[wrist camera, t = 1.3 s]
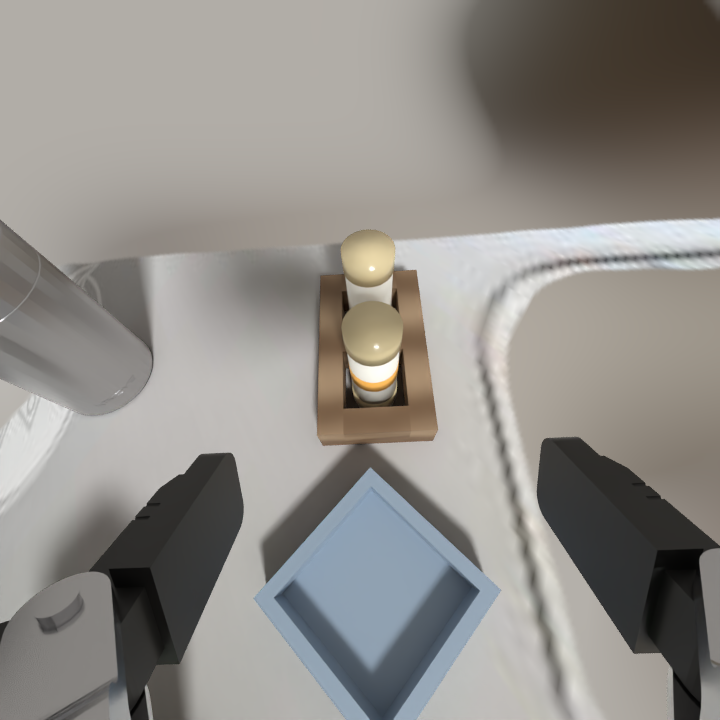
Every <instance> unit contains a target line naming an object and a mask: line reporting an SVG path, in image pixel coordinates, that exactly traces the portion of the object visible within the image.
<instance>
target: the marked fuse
mask: <svg viewBox="0 0 720 720" xmlns="http://www.w3.org/2000/svg"><path fill="white" fill-rule="evenodd" d="M341 328H342V335H343V341H344V346H345V350H346V352H347V355H348V362H349V369H350V374H351V378H352V390H353V396H354V399H355V402H356V403H357V405H358V406H359V407H360V408H372V407H391V405H392V404H393V403H394V401H395V398H396V392H397V374H398V364H399V351H400V348H401V343H402V334H403V321H402V318H401V316H400V314H399V313H398V312H397V311H396V309H394V308H393V307H392V306H390V305H388V304H386V303H383V302H379V301H366V302H362V303H359V304H357V305H355V306H354V307H352V308H351V309H350V310H349V311H348V312H347V313H346V315H345V316H344V318H343V321H342V327H341Z"/></svg>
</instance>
